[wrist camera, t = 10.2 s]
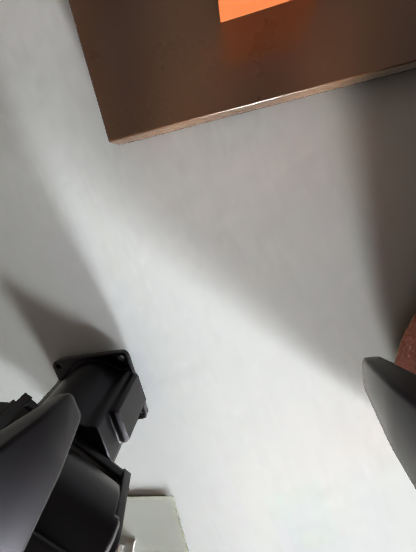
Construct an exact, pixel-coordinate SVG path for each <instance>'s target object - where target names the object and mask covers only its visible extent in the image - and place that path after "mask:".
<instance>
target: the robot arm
mask: <svg viewBox="0 0 416 552" xmlns="http://www.w3.org/2000/svg"><path fill="white" fill-rule="evenodd" d="M120 355H122V356H124V357H125V358H122V357H121V356H120ZM59 364H60V365H59ZM362 365H363V381H364V387H365V390H366V393H367V395H368V397H369V399H370V402H371V404H372V406H373V408H374V410H375V413H376V415H377V417H378V419H379V421H380V424H381V426H382V428H383V430H384V432H385V435H386V437H387V439H388V441H389V443H390V445H391V447H392V449H393V451H394V453H395V454H396V456H397V458H398V460H399V461H400V463H401V465H402V466H403V468H404V470H405V472H406V473H407V475H408V477H409V478H410V480H411V482H412V483H413V485H414V487H415V489H416V374H414V373H412V372H410V371H408V370H406V369H404V368H402V367H400V366H398V365H396V364H394V363H392V362H390V361H388V360H385V359H383V358H381V357H378V356H377V357H368V358H364V359H363V362H362ZM53 367H54V370H55V372H56V374H57V377H58V379H59V381H58V382H57V383H56V384H55V385H54V386H53V388H52V389H51V390H50V391H49V392H48V393H47V394H46V395H45V396H44V398H43V399H42V400H41V401H40V402H39V403H38V404H37V403H35V402H34V401H33V400H32V399H31V398H32V397H31V396H29V395H28V394H27V393H24V394H23V395H22V396H21V397H20V398H19V399H18V400H17V401H15V400H12V401H11V402H10V403H8V402H0V552H116V550H117V547H118V544H119V541H120V537H121V532H122V527H123V520H124V514H125V508H126V501H127V495H128V489H129V482H130V476H131V473H130V472H128V471H127V470H126V469H122V468H120V467H119V466H118V465H116V464H115V463H114V461H115V459H116V456H117V454H118V452H119V450H120V447H121V445H122V443H123V442H127V441H128V440H129V438H130V436H131V434H132V431H133V429H134V427H135V424H136V422H137V420H138V419H143V418H145V417H146V415H147V413H148V409H147V406H146V403H145V401H146V398H145V395H144V392H143V389H142V386H141V383H140V380H139V377H138V375H137V374H136V373H135V370H134V367H133V364H132V361H131V358H130V355H129V353H128V352H127V351H126V350H116V351H109V352H101V353H94V354H87V355H80V356H73V357H66V358H59V359H57V360H56V361H55V362H54V363H53ZM141 412H143V413H141Z"/></svg>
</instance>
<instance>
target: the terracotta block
mask: <svg viewBox="0 0 416 552" xmlns="http://www.w3.org/2000/svg"><path fill="white" fill-rule="evenodd" d="M288 1H291V0H217V6H218V12H219V18H220V22H224V21H227V20H231V19H234V18H237V17H240V16H243V15H246V14H250V13H253V12H256V11H259V10H262V9H265V8H269V7H272V6H275V5H278V4H281V3H284V2H288Z"/></svg>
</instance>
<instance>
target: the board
mask: <svg viewBox="0 0 416 552" xmlns="http://www.w3.org/2000/svg"><path fill="white" fill-rule="evenodd" d="M69 3H70V7H71V10H72V14H73V17H74V21H75V24H76V28H77V31H78V35H79V38H80V42H81V45H82V49H83V52H84V56H85V59H86V63H87V66H88V70H89V73H90V77H91V80H92V84H93V87H94V91H95V94H96V98H97V101H98V105H99V108H100V112H101V115H102V119H103V122H104V126H105V129H106V133H107V136H108V140H109V142H112V143H115V144H118V145H121V144H125V143H129V142H133V141H137V140H141V139H144V138H148V137H152V136H156V135H160V134H164V133H167V132H171V131H175V130H179V129H183V128H187V127H190V126H194V125H198V124H202V123H206V122H210V121H214V120H217V119H221V118H225V117H229V116H233V115H237V114H240V113H244V112H248V111H252V110H256V109H260V108H264V107H267V106H271V105H275V104H279V103H283V102H287V101H290V100H294V99H298V98H302V97H306V96H310V95H313V94H317V93H321V92H325V91H329V90H333V89H337V88H340V87H344V86H348V85H352V84H356V83H360V82H363V81H367V80H371V79H375V78H379V77H383V76H387V75H390V74H394V73H398V72H402V71H406V70H410V69H413V68H416V0H291V1H288V2H284V3H281V4H278V5H275V6H272V7H269V8H265V9H262V10H259V11H256V12H253V13H250V14H246V15H243V16H240V17H237V18H234V19H231V20H227V21H224V22H220V18H219V12H218V6H217V0H69Z"/></svg>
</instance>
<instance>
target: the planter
mask: <svg viewBox="0 0 416 552" xmlns="http://www.w3.org/2000/svg"><path fill="white" fill-rule="evenodd" d="M394 364H396V365H398V366H400V367H402V368H404V369H406V370H408V371H410V372H412V373H414V374H416V313H415V315H414V316H413V318H412V319H411V321H410V323H409V325H408V327H407V329H406V330H405V333H404V335H403V337H402V340H401V342H400V345H399V348H398V351H397V355H396V358H395V363H394Z"/></svg>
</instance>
